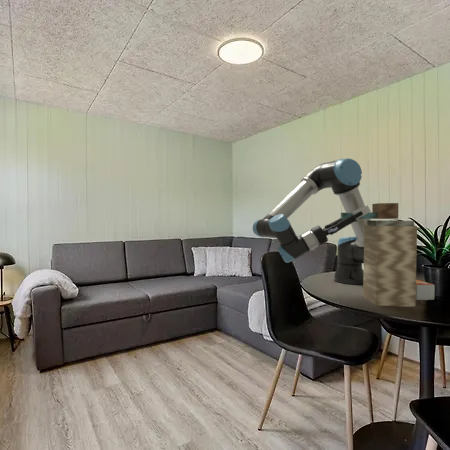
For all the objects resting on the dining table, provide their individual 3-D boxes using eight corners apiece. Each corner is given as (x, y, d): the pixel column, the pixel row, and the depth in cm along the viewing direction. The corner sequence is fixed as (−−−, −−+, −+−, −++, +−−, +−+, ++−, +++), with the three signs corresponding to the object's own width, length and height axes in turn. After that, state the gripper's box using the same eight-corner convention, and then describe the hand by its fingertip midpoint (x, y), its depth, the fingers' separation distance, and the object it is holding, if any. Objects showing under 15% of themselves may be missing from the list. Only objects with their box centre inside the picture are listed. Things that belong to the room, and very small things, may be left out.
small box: (411, 277, 135) (435, 284, 122) (411, 291, 135) (434, 300, 122) (394, 278, 134) (416, 284, 121) (394, 292, 134) (416, 300, 121)
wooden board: (376, 305, 114) (377, 220, 113) (363, 295, 128) (364, 220, 127) (415, 306, 112) (417, 221, 111) (398, 296, 126) (399, 220, 125)
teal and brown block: (344, 219, 118) (344, 203, 117) (339, 218, 124) (339, 204, 124) (398, 218, 115) (398, 203, 115) (390, 218, 122) (390, 203, 122)
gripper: (315, 243, 130) (365, 216, 127) (323, 247, 115) (380, 216, 112) (307, 228, 130) (356, 201, 128) (313, 230, 115) (369, 199, 112)
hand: (367, 208), depth 120 cm, fingers closed on teal and brown block, 2 cm apart
